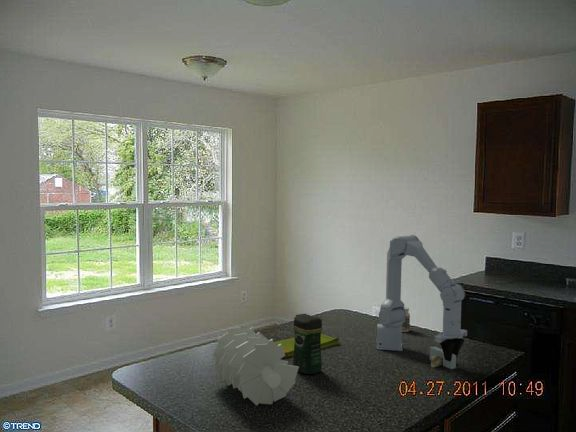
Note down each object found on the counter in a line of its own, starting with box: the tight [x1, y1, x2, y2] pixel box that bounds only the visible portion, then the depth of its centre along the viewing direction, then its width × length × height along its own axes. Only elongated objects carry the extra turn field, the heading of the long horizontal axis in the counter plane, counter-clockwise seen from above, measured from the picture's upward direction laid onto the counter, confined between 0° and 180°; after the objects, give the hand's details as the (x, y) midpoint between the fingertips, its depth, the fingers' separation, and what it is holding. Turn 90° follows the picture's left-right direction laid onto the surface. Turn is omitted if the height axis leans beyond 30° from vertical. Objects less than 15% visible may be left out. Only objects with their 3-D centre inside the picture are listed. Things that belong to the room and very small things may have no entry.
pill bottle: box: [402, 306, 411, 333], centre depth 207 cm, size 6×6×10 cm
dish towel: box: [273, 333, 340, 360], centre depth 183 cm, size 15×36×3 cm, turn 126°
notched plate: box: [429, 346, 457, 370], centre depth 168 cm, size 10×2×4 cm, turn 28°
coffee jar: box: [292, 313, 323, 375], centre depth 160 cm, size 10×8×19 cm
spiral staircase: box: [212, 324, 299, 407], centre depth 142 cm, size 18×18×25 cm
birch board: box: [430, 355, 443, 368], centre depth 168 cm, size 10×1×4 cm, turn 124°
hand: (450, 359), depth 165 cm, fingers closed on notched plate, 2 cm apart
